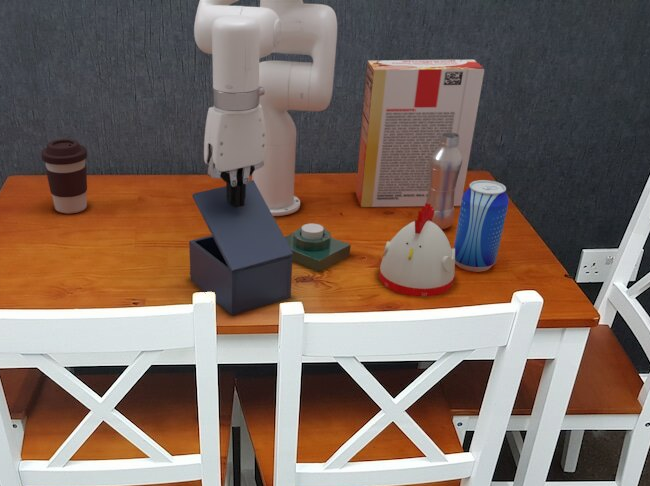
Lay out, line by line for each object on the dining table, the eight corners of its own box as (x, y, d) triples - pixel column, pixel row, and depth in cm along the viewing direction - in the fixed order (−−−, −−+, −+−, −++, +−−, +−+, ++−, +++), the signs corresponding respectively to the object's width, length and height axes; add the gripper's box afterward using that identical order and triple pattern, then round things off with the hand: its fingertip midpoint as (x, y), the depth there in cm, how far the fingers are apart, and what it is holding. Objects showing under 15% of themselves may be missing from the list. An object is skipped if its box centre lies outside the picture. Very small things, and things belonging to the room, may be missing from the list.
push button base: (272, 253, 160) (273, 233, 157) (304, 238, 166) (305, 218, 163) (318, 272, 153) (319, 251, 150) (349, 255, 159) (351, 235, 156)
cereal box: (452, 192, 186) (474, 59, 169) (460, 205, 179) (484, 68, 162) (355, 193, 186) (367, 60, 169) (360, 206, 179) (374, 69, 162)
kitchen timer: (367, 284, 148) (375, 210, 140) (394, 256, 158) (404, 185, 150) (438, 303, 142) (451, 226, 134) (462, 273, 152) (476, 200, 144)
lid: (191, 196, 139) (192, 193, 138) (252, 182, 144) (253, 179, 144) (231, 272, 135) (232, 270, 134) (291, 256, 140) (293, 253, 139)
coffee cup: (40, 213, 177) (30, 147, 169) (64, 197, 185) (55, 133, 176) (78, 219, 174) (70, 153, 166) (100, 203, 182) (94, 139, 173)
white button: (296, 236, 157) (297, 228, 156) (310, 229, 159) (311, 221, 158) (313, 242, 154) (314, 234, 153) (327, 235, 157) (328, 227, 156)
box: (190, 280, 150) (188, 240, 146) (246, 265, 156) (246, 226, 151) (231, 315, 139) (231, 274, 135) (290, 298, 144) (292, 257, 140)
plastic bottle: (452, 234, 167) (468, 141, 155) (420, 231, 168) (433, 139, 157) (451, 222, 172) (466, 131, 161) (420, 219, 173) (433, 129, 162)
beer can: (487, 277, 151) (504, 198, 142) (445, 267, 154) (458, 189, 145) (500, 260, 156) (516, 183, 147) (459, 251, 160) (472, 175, 151)
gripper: (261, 86, 134) (260, 189, 145) (184, 100, 128) (188, 206, 139) (286, 97, 129) (282, 202, 140) (207, 111, 123) (209, 221, 133)
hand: (236, 204), depth 139 cm, fingers closed
